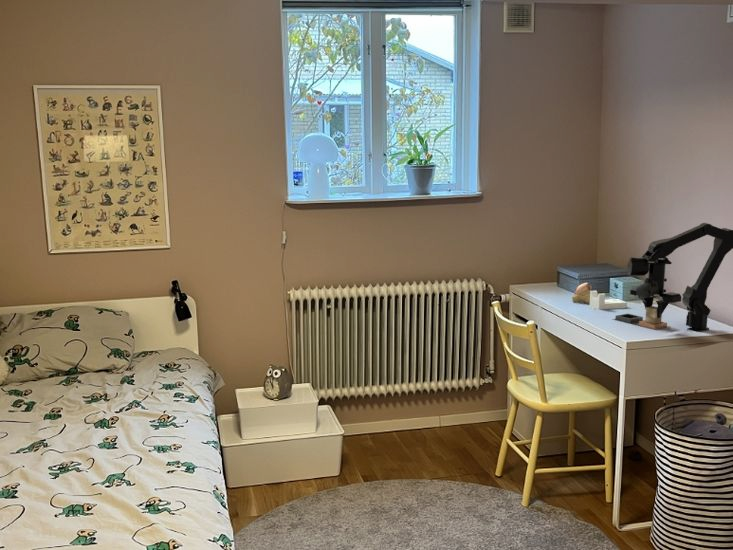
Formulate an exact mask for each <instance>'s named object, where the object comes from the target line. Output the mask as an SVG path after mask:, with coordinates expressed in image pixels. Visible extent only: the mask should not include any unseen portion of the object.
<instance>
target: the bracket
mask: <svg viewBox="0 0 733 550" xmlns="http://www.w3.org/2000/svg"><path fill="white" fill-rule="evenodd" d="M590 308H591V310H593V309H594V310H611V309H613V310H614V309H625V308H626V309H627V308H628V302H627V301H624V300H622V299H618V298H609V299H606V293H598V290H590V303H589V309H590Z"/></svg>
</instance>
